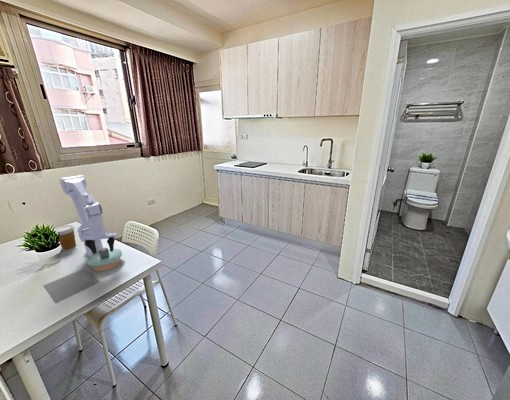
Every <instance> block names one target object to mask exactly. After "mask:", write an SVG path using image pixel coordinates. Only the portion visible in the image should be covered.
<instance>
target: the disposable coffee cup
mask: <svg viewBox="0 0 510 400" xmlns="http://www.w3.org/2000/svg"><path fill="white" fill-rule="evenodd" d="M54 230H55V231H56V232H57V233H60V237H59V241H58V243H59V242H60V243H59V245H60V247H61V248H62V249H63V250H70V249H72V248H74V247H77V243H76V235H75V227H74V226H73V225H71V224H70V225H69V224H67V225H66V224H65V225H62V226H61V225H60V226H58V227H56V228H55V229H54Z"/></svg>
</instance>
